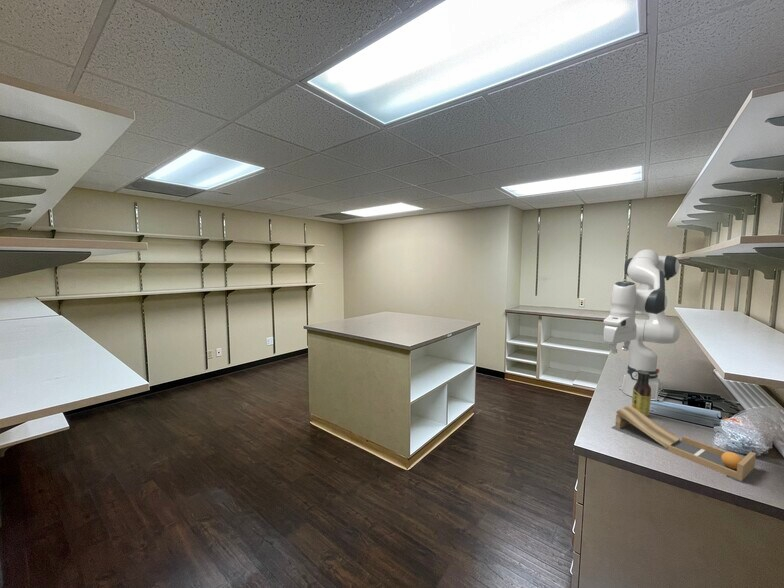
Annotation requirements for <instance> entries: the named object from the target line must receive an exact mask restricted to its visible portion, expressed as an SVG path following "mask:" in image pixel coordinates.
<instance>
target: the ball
mask: <svg viewBox="0 0 784 588" xmlns="http://www.w3.org/2000/svg"><path fill="white" fill-rule="evenodd" d="M741 457H742V456H740V455H738V454H737V453H735V452H732V451H726V452H725V453H723V454H722V456H721V460H722V462H723V463H724V464H725V465H726V466H727V467H729V468H732V469H737V465H738V463H739V462H740V461H741V460H742V458H743V457H742V458H741Z"/></svg>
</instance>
